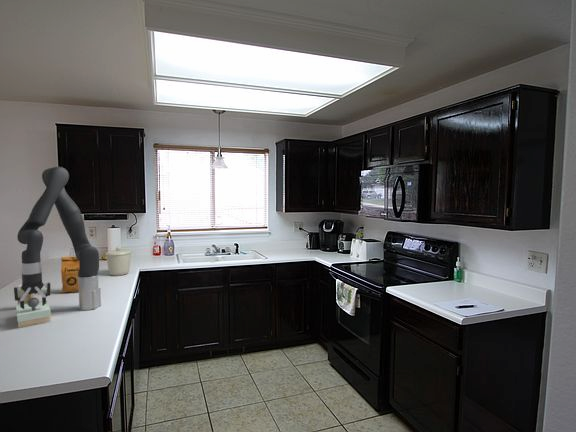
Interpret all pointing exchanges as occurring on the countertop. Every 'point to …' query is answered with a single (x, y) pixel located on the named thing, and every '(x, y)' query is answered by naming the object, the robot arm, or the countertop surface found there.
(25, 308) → the lid
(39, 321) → the beige wooden open box
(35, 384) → the countertop surface
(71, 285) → the coffee package
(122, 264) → the canister
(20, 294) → the skincare box
